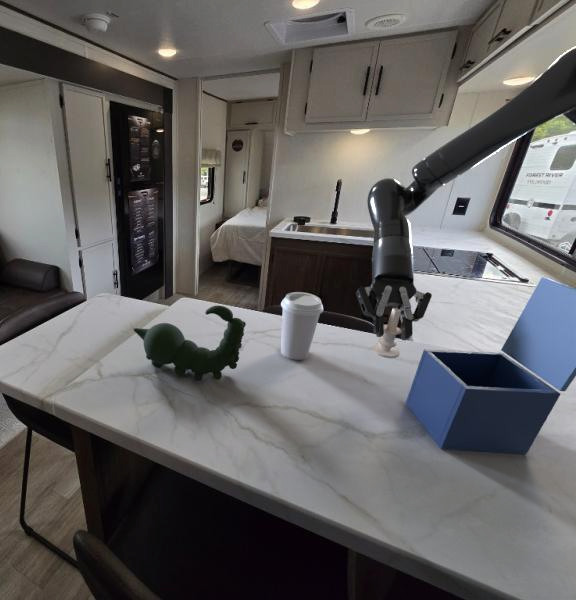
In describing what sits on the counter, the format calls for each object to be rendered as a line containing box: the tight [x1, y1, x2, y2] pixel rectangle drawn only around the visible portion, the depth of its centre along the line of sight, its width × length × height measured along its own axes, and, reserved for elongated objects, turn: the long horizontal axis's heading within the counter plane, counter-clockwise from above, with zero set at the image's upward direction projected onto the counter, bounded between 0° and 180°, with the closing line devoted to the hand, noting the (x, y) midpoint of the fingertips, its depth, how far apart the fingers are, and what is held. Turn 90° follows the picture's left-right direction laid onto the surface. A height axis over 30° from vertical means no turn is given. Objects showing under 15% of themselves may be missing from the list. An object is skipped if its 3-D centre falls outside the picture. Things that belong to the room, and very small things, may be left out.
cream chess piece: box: [370, 307, 402, 359], centre depth 69 cm, size 5×5×10 cm
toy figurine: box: [133, 305, 247, 382], centre depth 76 cm, size 9×19×25 cm
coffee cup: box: [280, 291, 324, 361], centre depth 83 cm, size 10×10×15 cm
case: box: [405, 349, 561, 455], centre depth 60 cm, size 14×12×13 cm
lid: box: [500, 276, 576, 392], centre depth 54 cm, size 14×12×1 cm
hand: (392, 337), depth 68 cm, fingers closed on cream chess piece, 4 cm apart
